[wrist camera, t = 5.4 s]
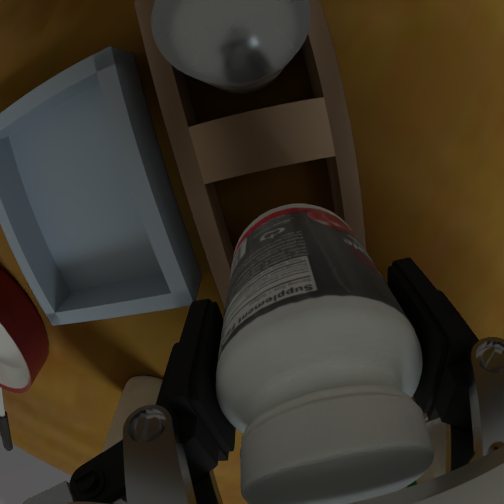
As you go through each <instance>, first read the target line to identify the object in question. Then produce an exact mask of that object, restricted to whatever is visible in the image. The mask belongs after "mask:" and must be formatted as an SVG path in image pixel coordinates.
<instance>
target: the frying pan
mask: <svg viewBox="0 0 504 504" xmlns="http://www.w3.org/2000/svg"><path fill="white" fill-rule="evenodd" d="M48 353H49V342H48V337H47V332H46V330H45V327H44V324H43V322H42V320H41V318H40V316H39V314H38V312H37V310H36V308H35V307H34V305H33V304H32V302H31V300H30V299H29V297H28V296H27V295H26V294H25V292H24V291H23V290H22V288H21V287H20V286H19V285H18V284H17V283H16V282H15V280H14V279H13V278H12V277H11V276H10V275H9V274H7V273H6V272H5V271H4V270H3V269H2V268H1V267H0V432H1V437H2V441H3V445H4V448H5V449H6V450H8V451H10V450H12V448H13V445H12V440H11V435H10V429H9V423H8V417H7V413H6V411H5V407H4V399H3V390H2V388H3V389H5V390H8V391H11V392H15V393H23V392H26V391H27V390H28V389H29V388H30V387H31V385H32V383H33V382H34V380H35V378H36V377H37V375H38V373H39V371H40V370H41V368H42V366H43V365H44V363H45V362H46V359H47V356H48Z"/></svg>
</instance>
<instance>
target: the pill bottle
mask: <svg viewBox="0 0 504 504" xmlns="http://www.w3.org/2000/svg"><path fill="white" fill-rule="evenodd" d="M422 366H423V358H422V350H421V346H420V342H419V340H418V337H417V335H416V333H415V329H414V327H413V326H412V324H411V322H410V320H409V319H408V317H407V316H406V314H405V313H404V312H403V310H402V308H401V306H400V305H399V303H398V302H397V300H396V298H395V297H394V295H393V294H392V292H391V290H390V288H389V287H388V285H387V284H386V282H385V280H384V278H383V277H382V275H381V274H380V272H379V271H378V269H377V268H376V266H375V264H374V263H373V261H372V260H371V258H370V257H369V255H368V254H367V252H366V250H365V249H364V248H363V246H362V244H361V243H360V242H359V240H358V238H357V237H356V236H355V234H354V233H353V232H352V230H351V229H350V228H349V226H348V225H347V224H346V223H345V222H344V221H343V220H342V219H341V218H340V217H339V216H337V215H336V214H335V213H333V212H331V211H329V210H327V209H325V208H322V207H319V206H315V205H310V204H304V203H299V204H288V205H284V206H280V207H277V208H274V209H271V210H269V211H267V212H265V213H263V214H262V215H260V216H259V217H257V218H256V219H255V220H254V221H253V222H252V223H251V224H250V225H249V226H248V227H247V228H246V229H245V230H244V232H243V233H242V235H241V237H240V238H239V240H238V243H237V246H236V248H235V252H234V257H233V262H232V267H231V275H230V281H229V288H228V294H227V300H226V307H225V313H224V320H223V327H222V334H221V341H220V347H219V354H218V363H217V369H216V395H217V399H218V403H219V405H220V408H221V410H222V412H223V414H224V415H225V417H226V418H227V419H228V420H229V422H230V423H231V424H232V425H233V426H234V427H235V428H236V429H237V430H239V431H240V432H241V433H243V436H242V443H241V444H242V447H241V450H240V458H241V493H242V496H243V498H244V499H245V500H246V501H247V502H248V503H250V504H348V503H352V502H357V501H361V500H365V499H370V498H374V497H377V496H381V495H385V494H388V493H392V492H395V491H398V490H400V489H402V488H404V487H406V486H408V485H409V484H411V483H412V482H414V481H415V480H417V479H418V478H419V477H420V476H422V475H423V474H424V473H425V472H426V471H427V470H428V468H429V467H430V465H431V464H432V462H433V459H434V448H433V444H432V440H431V437H430V434H429V431H428V428H427V425H426V423H425V419H424V414H423V411H422V409H421V408H420V407H419V406H418V405H417V404H416V403H415V402H414V401H413V399H412V396H413V395H414V393H415V391H416V389H417V386H418V384H419V381H420V377H421V374H422Z"/></svg>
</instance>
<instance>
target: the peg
mask: <svg viewBox="0 0 504 504" xmlns="http://www.w3.org/2000/svg"><path fill="white" fill-rule="evenodd" d="M310 23H311V7H310V2H309V0H155V3H154V6H153V10H152V16H151V27H152V33H153V37H154V40H155V43H156V45H157V47H158V49H159V51H160V52H161V53H162V55H163V56H164V58H165V59H166V60H167V61H168V62H169V63H170V64H171V65H173V66H174V67H175V68H177V69H178V70H179V71H181V72H183V73H185V74H186V75H188V76H191V77H193V78H195V79H198V80H200V81H202V82H205V83H207V84H209V85H211V86H214V87H216V88H218V89H220V90H222V91H225V92H228V93H232V94H250V93H254V92H257V91H260V90H262V89H264V88H266V87H267V86H268V85H270V84H271V83H272V82H273V81H274V80H275V79H276V78H277V77H278V75H279V74H280V73H281V72H282V70H283V69H284V68H285V67H286V65H287V64H288V63H289V62H290V60H291V59H292V58H293V57H294V56H295V54H296V53H297V52H298V51H299V50H300V48H301V46H302V45H303V43H304V42H305V39H306V37H307V35H308V32H309V28H310Z"/></svg>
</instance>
